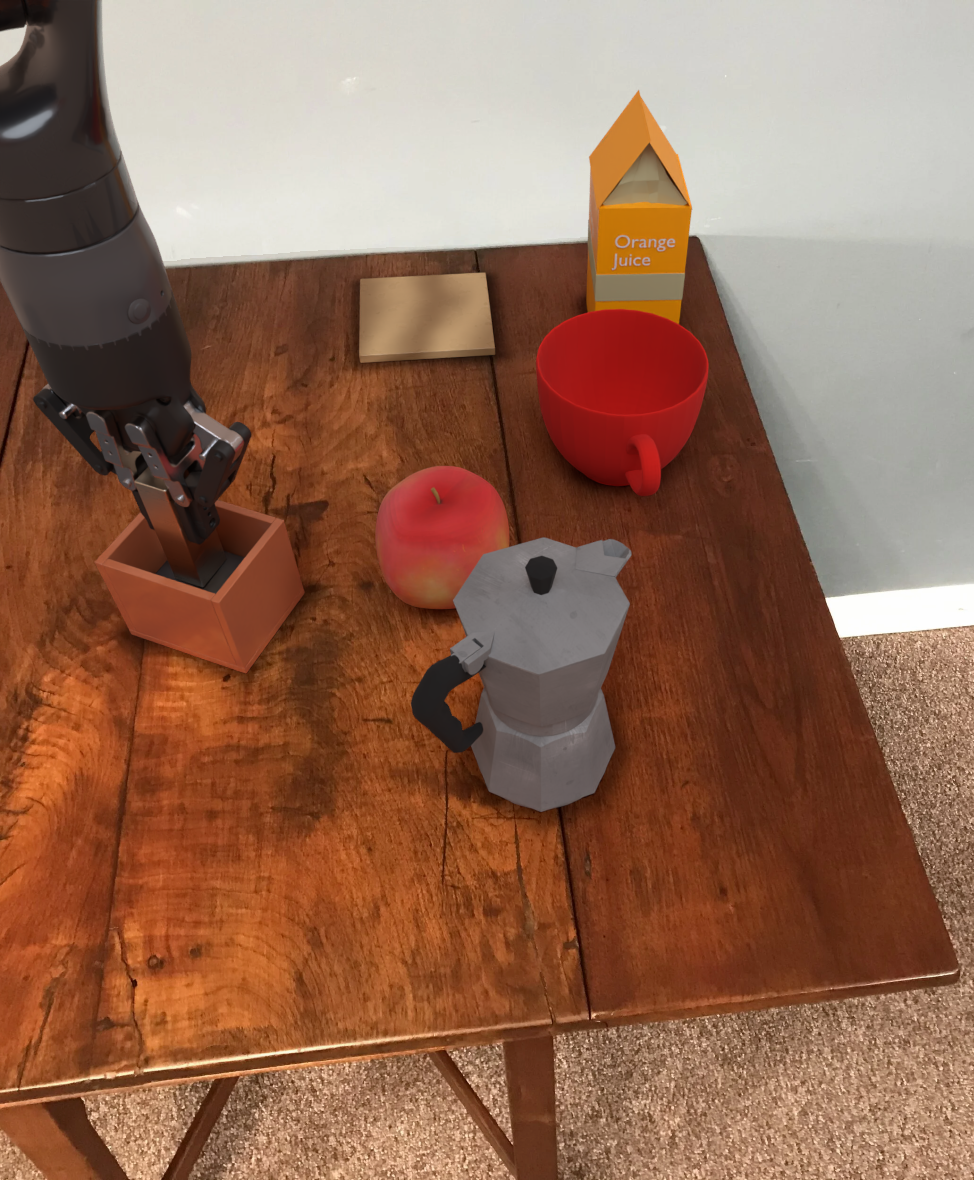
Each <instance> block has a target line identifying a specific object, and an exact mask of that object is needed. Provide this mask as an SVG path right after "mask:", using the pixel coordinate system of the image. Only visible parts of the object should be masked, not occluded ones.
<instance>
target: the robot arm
mask: <svg viewBox="0 0 974 1180" xmlns="http://www.w3.org/2000/svg"><path fill="white" fill-rule="evenodd" d="M24 28H25V32H24V37H23V40H22V43H21V45H20V47H19V50H18V51H17V53H15V55H13V56H12V57H11V58H10V59H8V60H7V61H6V62H4V63H3V64H1V65H0V284H1V285H2V288H3V290H4V292H5V295H6V296H7V298H8V301H9V303H10V305H11V307H12V309H13V311H14V313H15V316H16V318H17V319H18V322H19V324H20V326H21V328H22V330H23V333H24V335H25V337H26V339H27V342H28V344H29V346H30V347H31V350H32V352H33V354H34V356H35V358H36V360H37V362H38V365H39V367H40V369H41V371H42V374H43V375H44V377H45V380H46V382H47V384H46V385H45V386H44V387H42V388H41V390H39V392H37V394H35V395H34V396H33V398H32V400H33V402H34V405H35V406H36V407H37V408H38V409H39V410H40V411H41V412H42V413H43V414H44V416H45V418H47V419H48V420H49V422H51V424H52V425H53V426H54V427H55V428H56V429H57V430H58V432H59V433H60V434H61V435H62V436H63V437H64V438H65V440H67V441H68V443H69V444H70V445H71V446H72V447H73V449H75V450H76V452H77V453H78V454H79V455H80V457H82V458H83V460H85V462H86V463H87V464H88V465H89V466H90V467H91V468H92V469H93V470H94V472H96V473H97V474H99V475H100V476H108V475H109V474H110V473H112V474H113V475H114V474H115V475H116V476H117V479H118V482H119V483H120V485H121V486H123V488H125V489H127V490H129V491H131V493H132V495H133V498H134V499H135V502H136V505H137V506H138V509H139V513H140V512H141V514H142V515H143V516H144V517H145V519H146V520H147V522H148V525H149V527H150V528H151V529H153V530H154V527H153V525H152V522H151V520H150V518H149V515H148V513H147V511H146V508H145V506H144V504H143V501H142V499H141V497H140V494H139V492H138V490H137V487H136V485H135V483H134V481H135V480H136V479H137V478H138V477H139V476H140V475H141V474H142V473H143V472H144V471H145V470H146V469H147V467H149V469H150V471H151V473H152V475H153V476H154V477H155V478H158V479H163V481H164V483H165V485H166V487H167V489H168V491H169V493H170V495H171V497H172V499H173V500H174V501H175V503H174V505H175V508H176V510H177V513H178V515H179V518H180V520H181V523H182V525H183V528H184V531H185V533H186V536H187V538H188V540H189V541H190V542H193V543H196V544H202V543H203V542H204V541H205V540H206V539H207V538H208V537H209V536H210V535H211V533H212V532H213V531H214V530H215V529H216V527H217V526H218V525H219V524H220V517H219V514H218V512H217V509H216V506H215V502H216V501H217V500H220V497H221V496H223V494H224V493H225V492H226V491H227V490H228V488H229V487H230V486H231V485H232V484H233V483H234V481H235V480H236V477H237V475H238V472H239V469H240V467H241V465H242V461H243V459H244V457H245V455H246V451H247V449H248V446H249V444H250V442H251V439H252V436H253V435H252V434H253V433H252V431H251V429H250V428H249V427H248V426H247V425H246V424H244V423H243V422H241V421H234V422H233V423H232V424H231V425H230V426H229V427H227V426H225V425H223V424H222V423H220V422H219V421H218V420H216V419H214V418H213V417H211V416H210V415H209V414H207V407H206V404H205V402H204V399H203V398H202V397H201V396H200V395H199V393H198V392H197V391H196V389H195V388H194V386H193V384H192V382H191V367H192V348H191V345H190V341H189V338H188V335H187V332H186V328H185V325H184V323H183V320H182V319H183V318H182V315H181V313H180V310H179V307H178V304H177V300H176V298H175V295H174V291H173V288H172V285H171V281H170V279H169V277H168V273H167V270H166V266H165V263H164V261H163V258H162V255H161V251H160V248H159V245H158V243H157V240H156V237H155V235H154V233H153V230H152V229H151V226H150V224H149V223H148V221H147V218H146V217H145V215H144V212H143V211H142V208H141V205H140V202H139V200H138V197H137V194H136V191H135V188H134V185H133V182H132V179H131V175H130V172H129V170H128V167H127V166H128V165H127V163H126V160H125V157H124V155H123V150H122V148H121V145H120V141H119V139H118V136H117V132H116V128H115V125H114V121H113V117H112V112H111V107H110V100H109V94H108V85H107V79H106V68H105V57H104V34H103V0H0V33H2V32H7V31H12V30H17V29H24ZM94 432H95V435H96V438H97V441H98V444H99V447H100V449H99V448H98V447H97V446H96V445H95V444H94V442H93V441H92V439H91V435H92V434H93V433H94ZM186 469H187V470H188V472H189V475H188V476H187V477H186V478H185V479H184V476H183V475H184V472H185V470H186Z"/></svg>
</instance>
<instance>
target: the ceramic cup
mask: <svg viewBox="0 0 974 1180" xmlns="http://www.w3.org/2000/svg"><path fill="white" fill-rule="evenodd" d="M535 374H536V384H537V385H536V386H537V394H538V402H539V408H540V413H541V416H542V420H543V423H544V425H545V428H546V430H547V433H548V436H549V438H550V440H551V442H552V443H553V445H554V446H555V448H556V449H557V450H558V452H559V453H560V455H561V456H562V457H563V458H564V459H565V461H567V462H568V463H569V464H570V465H571V466H572V467H573V468H574V469H576V470H577V471H579V472H580V473H582V474H583V475H584V476H586V477H587V478H588V479H590V480H592V481H594V482H596V483H598V484H601V485H606V486H613V487H624V486H625V487H626V486H630V488H631V490H632V491H633V492H634V493H635V494H636V495H637V496H639V497H650V496H653V495H655V494H656V493H657V492H658V490H659V489H660V485H661V481H662V479H661V478H662V470H663V469H664V468H666V466H668V464H670V463H671V462H672V461H673V460H674V459H675V458H676V457H677V456H678V455H679V454H680V452H681V451H682V449H683V448H684V446H685V445H686V444H687V442H688V441H689V438H690V437H691V435H692V432H694V429H695V426H696V422H697V420H698V417H699V414H700V412H701V408H702V405H703V401H704V398H705V394H706V390H707V384H708V380H709V359H708V355H707V351H706V350H705V348H704V346H703V345H702V343H701V342H700V340H699V339H698V338H697V337H696V336H695V335H694V334H693V333H692V332H691V331H689V330H688V329H687V328H685V327H683V326H682V325H681V324H680V323H679V324H677V323H675V322H673V321H671V320H669V319H667V318H665V317H662V316H659V315H656V314H653V313H648V312H643V311H638V310H627V309H605V310H598V311H592V312H588V311H587V312H585V313H581V314H578V315H574V316H572V317H570V318H568V319H566V320H564V321H562V322H561V323H559V324H557V325H556V326H555V327H553V328H552V329H551V330H550V331H549V332H548V333H547V334H546V335H545V336H544V337H543V339H542V340H541V343H540V344H539V346H538V349H537V352H536V359H535Z"/></svg>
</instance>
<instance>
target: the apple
mask: <svg viewBox="0 0 974 1180" xmlns="http://www.w3.org/2000/svg"><path fill="white" fill-rule="evenodd" d="M508 518H509V517H508V514H507V510H506V507H505V504H504V501H503V499H502V497H501V496H500V494H499V492H498V491H497V489H496V488H495V487H494V486H493V485H492V484H491V483H490V482H488V480H486V479H484V477H482V476H480V475H478V474H476V473H474V472H472V471H470V470H468V469H466V468H463V467H460V466H452V465H436V466H431V467H430V466H429V467H427V468H424V469H420V470H418V471H415V472H413V473H411V474H410V475H408V476H406V477H405V478H403V479H402V480H401V481H399V482H397V483H396V484H395V485H394V486H392V488H391V489H389V490H388V491H387V493H386V494H385V496H384V497H383V499H382V500H381V503H380V505H379V508H378V512H377V514H376V520H375V521H376V522H375V530H374V531H375V532H374V533H375V535H374V536H375V550H376V556H377V560H378V565H379V568H380V571H381V574H382V576H383V578H384V581H385V582H386V584H387V586H388V588H389V589H390V590H391V592H392V593H393V594H394V595H395V596H396V597H397V598H398V599H399V600H401V601H402V602H403V603H405V604H407V605H409V606H412V607H415V608H420V609H428V610H454V609H456V607H455V605H454V603H453V600H454V598H455V597H456V595H457V594H458V592H459V591H460V589H461V587H462V586H463V584H464V583H465V581H466V580H467V578H468V577H469V575H470V574H471V572H472V571H473V569H474V568H475V566H476V565H477V563H478V561H479V560H480V558H481V557H482V555H483V554H486V553H490V552H493V551H497V550H500V549H504V548H507V547H510V525H509V519H508Z"/></svg>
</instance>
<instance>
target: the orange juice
mask: <svg viewBox="0 0 974 1180" xmlns="http://www.w3.org/2000/svg"><path fill="white" fill-rule="evenodd" d="M588 159H589V160H588V162H589V200H588V220H587V221H588V222H587V263H586V264H587V269H586V297H585V299H586V301H585V302H586V311H587V313H588V312H592V311H598V310H605V309H627V310H638V311H643V312H648V313H653V314H656V315H659V316H662V317H665V318H667V319H669V320H671V321H673V322H675V323H677V324H679V325H680V319H681V310H682V309H681V308H682V300H683V296H684V295H683V294H684V289H685V287H684V286H685V278H686V264H687V257H688V247H689V238H690V231H691V230H690V229H691V220H692V213H693V212H692V211H693V206H692V202H691V197H690V195H689V194H690V193H689V191H688V187H687V183H686V180H685V179H686V178H685V176H684V172H683V171H684V170H683V168H682V164H681V160H680V156H679V153H676V151H675V150H674V148H673V146H672V144H671V143H670V140H668V138H667V136H666V135H665V133H664V132H663V129H662V128H661V126H660V125H659V124H658V121H657V120H656V118H655V117H654V115H653V113H652V112H651V111H650V109H649V107H648V106H647V104H646V102H645V101H644V99H643V97H642V96H641V92H640V89H638V90H636V93H635V94H634V95H633V96H632V98H631V99H630V101H629V102H628V103H627V104H626V106H625V108H624V109H623V110H622V111H621V113H620V114H619V116H618V117H617V118H616V119H615V121H614V122H613V124H612V125H611V127H609V128H608V130H607V132H606V133H605V135H604V136H603V137H602V138H601V140H600V141H599V142H598V144H597V145H596V147H595V148H594V149H593V151H592V152H591V153H590V155H589V156H588Z"/></svg>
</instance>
